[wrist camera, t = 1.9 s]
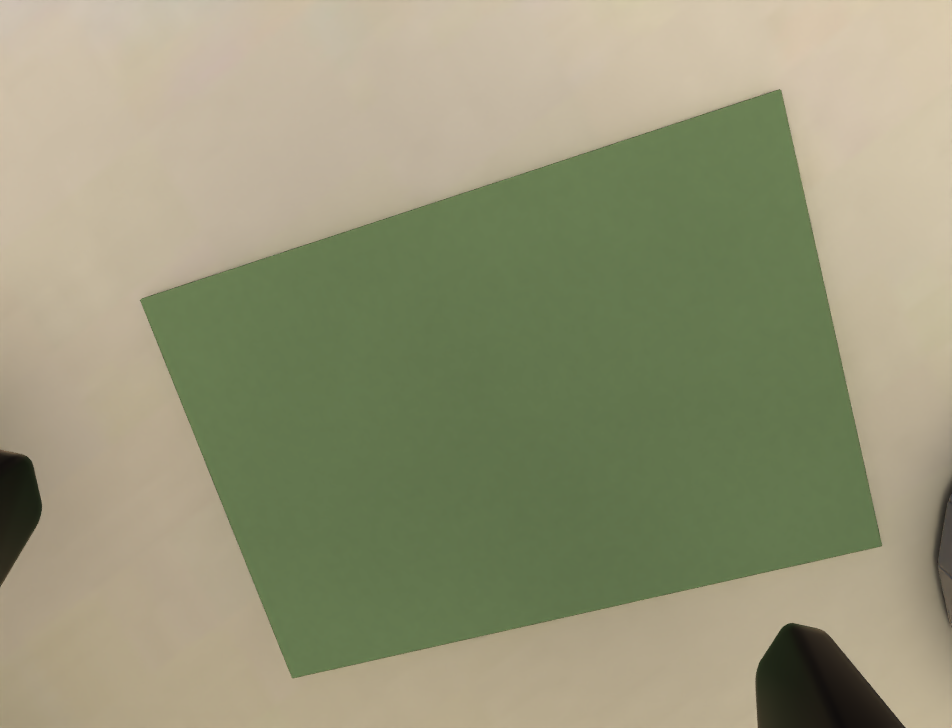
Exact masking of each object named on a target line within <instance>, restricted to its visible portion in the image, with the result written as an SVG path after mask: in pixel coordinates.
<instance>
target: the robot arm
mask: <svg viewBox="0 0 952 728" xmlns="http://www.w3.org/2000/svg"><path fill="white" fill-rule="evenodd" d="M41 511H42V502H41V498H40V493H39V489H38V484H37V480H36V476H35V471H34V467H33V464H32V461H31V460H30V459H29V458H28V457H27V456H25V455H23V454H18V453H14V452H9V451H4V450H0V587H1V585H2V583H3V582H4V580H5V578H6V577H7V575H8V573H9V571H10V570H11V568H12V566H13V565H14V563H15V561H16V560H17V558H18V556H19V555H20V553H21V551H22V550H23V548H24V546H25V545H26V543H27V541H28V540H29V538H30V536H31V535H32V533H33V531H34V529H35V528H36V526H37V524H38V522H39V519H40V516H41ZM756 702H757V720H758V728H905V727H904V725H903V724H902V723H901V722H900V721H899V719H898V718H897V717H896V716H895V715H894V713H893V712H892V711H891V710H890V708H889V707H888V706H887V705H886V704H885V702H884V701H883V700H882V699H881V698H880V696H879V695H878V694H877V693H876V691H875V690H874V689H873V688H872V687H871V685H870V684H869V683H868V682H867V681H866V679H865V678H864V677H863V676H862V675H861V673H860V672H859V671H858V670H857V668H856V667H855V666H854V665H853V664H852V662H851V661H850V660H849V659H848V658H847V656H846V655H845V654H844V653H843V651H842V650H841V649H840V648H839V647H838V645H837V644H836V643H835V642H834V641H833V639H832V638H831V637H830V636H829V635H828V634H827V633H826V632H824V631H822V630H820V629H817V628H813V627H808V626H804V625H799V624H795V623H789V624H787V625H785V626H784V627H783V628H782V629H781V630H780V632H779V633H778V635H777V636H776V638H775V639H774V641H773V642H772V644H771V646H770V647H769V649H768V650H767V652H766V653H765V655H764V656H763V658H762V659H761V661H760V663H759V665H758V668H757V672H756Z"/></svg>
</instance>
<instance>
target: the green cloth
mask: <svg viewBox="0 0 952 728" xmlns="http://www.w3.org/2000/svg"><path fill="white" fill-rule="evenodd" d="M140 301H141V303H142V306H143V308H144V311H145V313H146V316H147V318H148V321H149V323H150V326H151V328H152V331H153V333H154V336H155V338H156V341H157V343H158V346H159V348H160V350H161V353H162V355H163V358H164V360H165V363H166V365H167V368H168V370H169V373H170V375H171V378H172V380H173V383H174V385H175V388H176V390H177V393H178V395H179V398H180V400H181V403H182V405H183V408H184V410H185V413H186V415H187V418H188V420H189V423H190V425H191V428H192V430H193V433H194V435H195V438H196V440H197V443H198V445H199V447H200V450H201V452H202V455H203V457H204V460H205V462H206V465H207V467H208V470H209V472H210V475H211V477H212V480H213V482H214V485H215V487H216V490H217V492H218V495H219V497H220V500H221V502H222V505H223V507H224V510H225V512H226V515H227V517H228V520H229V522H230V525H231V527H232V530H233V532H234V535H235V537H236V540H237V542H238V544H239V547H240V549H241V552H242V554H243V557H244V559H245V562H246V564H247V567H248V569H249V572H250V574H251V577H252V579H253V582H254V584H255V587H256V589H257V592H258V594H259V597H260V599H261V602H262V604H263V607H264V609H265V612H266V614H267V617H268V619H269V622H270V624H271V627H272V629H273V632H274V634H275V637H276V639H277V641H278V644H279V646H280V649H281V651H282V654H283V656H284V659H285V661H286V664H287V666H288V669H289V671H290V674H291V676H292V678H297V677H301V676H305V675H310V674H314V673H319V672H323V671H328V670H332V669H337V668H341V667H346V666H350V665H354V664H359V663H363V662H368V661H372V660H377V659H381V658H386V657H390V656H395V655H399V654H404V653H408V652H412V651H417V650H421V649H426V648H430V647H435V646H439V645H444V644H448V643H453V642H457V641H461V640H466V639H470V638H475V637H479V636H484V635H488V634H493V633H497V632H502V631H506V630H510V629H515V628H519V627H524V626H528V625H533V624H537V623H542V622H546V621H551V620H555V619H560V618H564V617H568V616H573V615H577V614H582V613H586V612H591V611H595V610H600V609H604V608H609V607H613V606H617V605H622V604H626V603H631V602H635V601H640V600H644V599H649V598H653V597H658V596H662V595H666V594H671V593H675V592H680V591H684V590H689V589H693V588H698V587H702V586H707V585H711V584H716V583H720V582H724V581H729V580H733V579H738V578H742V577H747V576H751V575H756V574H760V573H765V572H769V571H773V570H778V569H782V568H787V567H791V566H796V565H800V564H805V563H809V562H814V561H818V560H822V559H827V558H831V557H836V556H840V555H845V554H849V553H854V552H858V551H863V550H867V549H872V548H876V547H880V546H882V543H881V539H880V534H879V530H878V525H877V521H876V516H875V512H874V507H873V503H872V498H871V494H870V489H869V485H868V480H867V476H866V471H865V467H864V462H863V458H862V453H861V449H860V444H859V440H858V435H857V431H856V426H855V421H854V417H853V412H852V408H851V403H850V399H849V394H848V390H847V385H846V381H845V376H844V372H843V367H842V363H841V358H840V354H839V349H838V345H837V340H836V336H835V331H834V327H833V322H832V318H831V313H830V309H829V304H828V300H827V295H826V291H825V286H824V282H823V277H822V273H821V268H820V264H819V259H818V255H817V250H816V246H815V241H814V237H813V232H812V228H811V223H810V219H809V214H808V209H807V205H806V200H805V196H804V191H803V187H802V182H801V178H800V173H799V169H798V164H797V160H796V155H795V151H794V146H793V142H792V137H791V133H790V128H789V124H788V119H787V115H786V110H785V106H784V101H783V97H782V92H781V90H780V89H779V90H776V91H773V92H770V93H767V94H764V95H761V96H758V97H755V98H752V99H749V100H746V101H743V102H740V103H737V104H734V105H731V106H728V107H725V108H721V109H718V110H715V111H712V112H709V113H706V114H703V115H700V116H697V117H694V118H691V119H688V120H685V121H682V122H679V123H676V124H673V125H670V126H667V127H664V128H661V129H657V130H654V131H651V132H648V133H645V134H642V135H639V136H636V137H633V138H630V139H627V140H624V141H621V142H618V143H615V144H612V145H609V146H606V147H603V148H600V149H597V150H593V151H590V152H587V153H584V154H581V155H578V156H575V157H572V158H569V159H566V160H563V161H560V162H557V163H554V164H551V165H548V166H545V167H542V168H539V169H536V170H533V171H529V172H526V173H523V174H520V175H517V176H514V177H511V178H508V179H505V180H502V181H499V182H496V183H493V184H490V185H487V186H484V187H481V188H478V189H475V190H472V191H469V192H465V193H462V194H459V195H456V196H453V197H450V198H447V199H444V200H441V201H438V202H435V203H432V204H429V205H426V206H423V207H420V208H417V209H414V210H411V211H408V212H405V213H401V214H398V215H395V216H392V217H389V218H386V219H383V220H380V221H377V222H374V223H371V224H368V225H365V226H362V227H359V228H356V229H353V230H350V231H347V232H344V233H341V234H337V235H334V236H331V237H328V238H325V239H322V240H319V241H316V242H313V243H310V244H307V245H304V246H301V247H298V248H295V249H292V250H289V251H286V252H283V253H280V254H277V255H273V256H270V257H267V258H264V259H261V260H258V261H255V262H252V263H249V264H246V265H243V266H240V267H237V268H234V269H231V270H228V271H225V272H222V273H219V274H216V275H213V276H210V277H206V278H203V279H200V280H197V281H194V282H191V283H188V284H185V285H182V286H179V287H176V288H173V289H170V290H167V291H164V292H161V293H158V294H155V295H152V296H149V297H146V298H142V299H141V300H140Z"/></svg>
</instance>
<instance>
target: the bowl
mask: <svg viewBox="0 0 952 728" xmlns="http://www.w3.org/2000/svg"><path fill="white" fill-rule="evenodd" d="M938 564H939V565H938V570H939V575H940V580H941V584H942V589H943V594H944V599H945V604H946V609H947V613H948V618H949V623H950V624H951V627H952V494H951V495H950V497H949V501H948V502H947V508H946V514H945V520H944V526H943V532H942V538H941V544H940V550H939V556H938Z"/></svg>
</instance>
